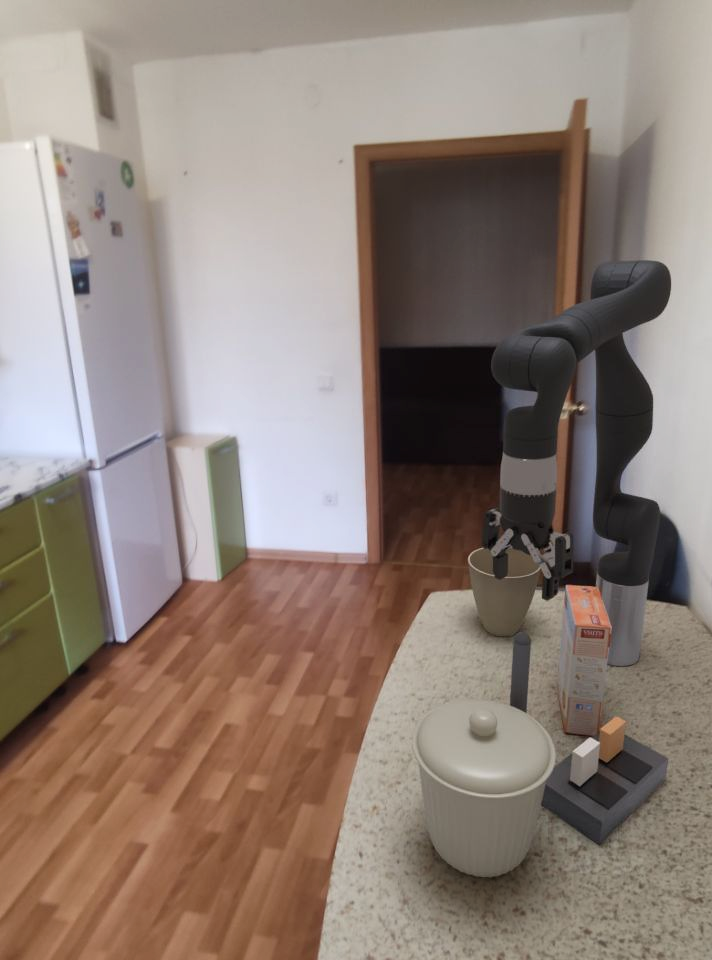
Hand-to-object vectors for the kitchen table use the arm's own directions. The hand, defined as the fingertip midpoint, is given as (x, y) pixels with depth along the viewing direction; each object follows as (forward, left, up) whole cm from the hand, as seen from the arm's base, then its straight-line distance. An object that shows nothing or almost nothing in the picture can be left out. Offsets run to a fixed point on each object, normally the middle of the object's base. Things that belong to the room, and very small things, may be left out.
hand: (523, 587), depth 96 cm
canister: (+17, +7, -30) cm, 35 cm away
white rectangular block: (0, +12, -26) cm, 29 cm away
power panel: (-4, +13, -30) cm, 33 cm away
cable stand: (+4, +3, -30) cm, 30 cm away
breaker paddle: (-7, +12, -26) cm, 29 cm away
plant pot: (-29, -26, -30) cm, 49 cm away
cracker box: (-17, 0, -30) cm, 34 cm away
